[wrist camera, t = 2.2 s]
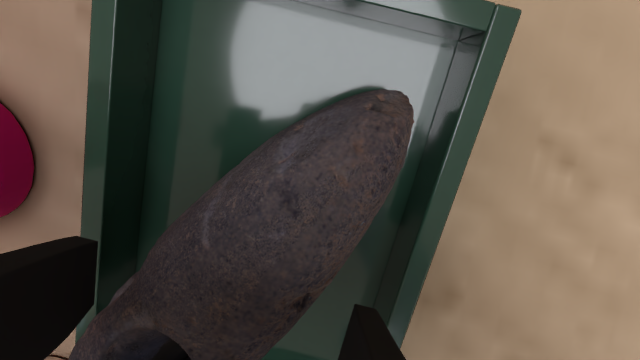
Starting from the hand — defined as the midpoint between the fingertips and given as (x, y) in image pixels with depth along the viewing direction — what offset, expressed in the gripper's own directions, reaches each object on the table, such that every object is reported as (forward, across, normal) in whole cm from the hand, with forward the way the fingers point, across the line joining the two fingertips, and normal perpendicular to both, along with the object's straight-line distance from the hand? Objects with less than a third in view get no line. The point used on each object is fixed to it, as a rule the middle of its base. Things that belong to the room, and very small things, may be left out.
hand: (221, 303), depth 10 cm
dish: (+6, 0, 0) cm, 6 cm away
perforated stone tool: (+6, 0, 0) cm, 6 cm away
